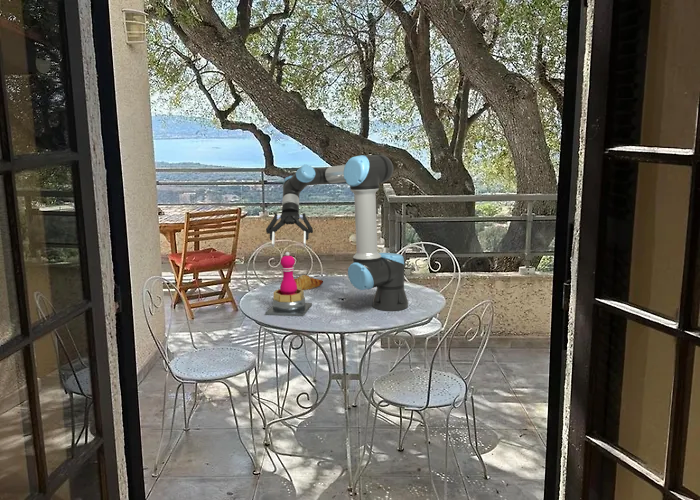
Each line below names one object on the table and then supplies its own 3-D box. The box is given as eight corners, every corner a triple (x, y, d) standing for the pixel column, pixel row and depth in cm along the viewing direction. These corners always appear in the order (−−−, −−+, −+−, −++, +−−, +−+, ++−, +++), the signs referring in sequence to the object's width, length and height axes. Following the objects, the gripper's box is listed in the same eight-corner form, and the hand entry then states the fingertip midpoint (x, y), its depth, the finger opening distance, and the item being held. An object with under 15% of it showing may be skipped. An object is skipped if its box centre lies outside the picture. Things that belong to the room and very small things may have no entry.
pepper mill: (294, 301, 257) (293, 253, 254) (278, 300, 259) (276, 253, 255) (299, 296, 264) (298, 250, 260) (283, 295, 266) (281, 250, 262)
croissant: (283, 299, 294) (284, 286, 289) (277, 285, 301) (278, 272, 296) (325, 293, 301) (327, 280, 297) (318, 280, 309) (320, 267, 304)
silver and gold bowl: (311, 305, 269) (311, 287, 267) (303, 316, 253) (302, 297, 252) (276, 304, 271) (275, 286, 270) (265, 315, 256) (264, 295, 254)
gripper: (318, 211, 280) (318, 249, 268) (263, 212, 280) (260, 250, 268) (318, 200, 274) (317, 239, 262) (261, 201, 273) (258, 240, 262)
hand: (288, 245), depth 265 cm, fingers open, 13 cm apart
